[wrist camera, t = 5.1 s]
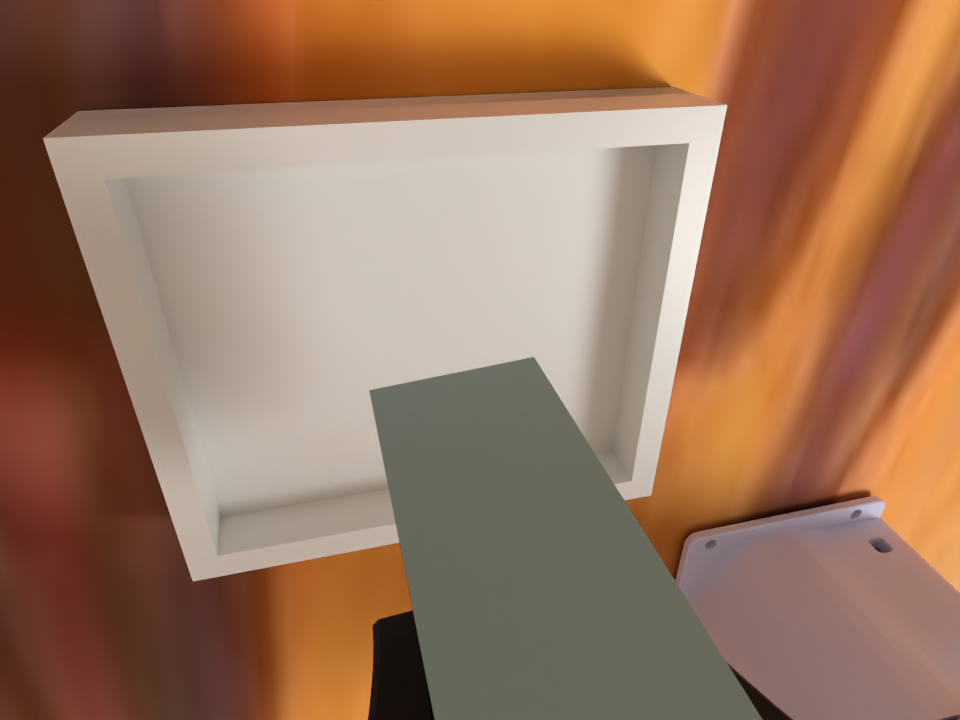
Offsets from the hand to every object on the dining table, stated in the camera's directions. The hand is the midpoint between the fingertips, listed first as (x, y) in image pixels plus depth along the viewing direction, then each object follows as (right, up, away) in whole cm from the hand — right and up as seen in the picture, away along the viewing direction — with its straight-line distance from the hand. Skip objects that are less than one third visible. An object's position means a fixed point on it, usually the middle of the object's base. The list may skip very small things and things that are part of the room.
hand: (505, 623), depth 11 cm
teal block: (-1, +2, +2) cm, 3 cm away
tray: (-2, +6, +7) cm, 9 cm away
